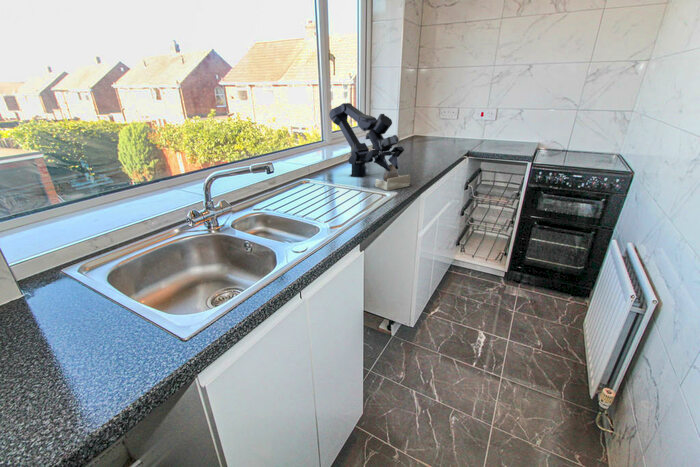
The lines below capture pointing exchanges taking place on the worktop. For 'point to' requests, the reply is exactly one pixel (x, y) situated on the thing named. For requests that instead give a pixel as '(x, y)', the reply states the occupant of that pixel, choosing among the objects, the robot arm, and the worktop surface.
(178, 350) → the worktop surface
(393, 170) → the vase
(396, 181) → the shoe shelf
